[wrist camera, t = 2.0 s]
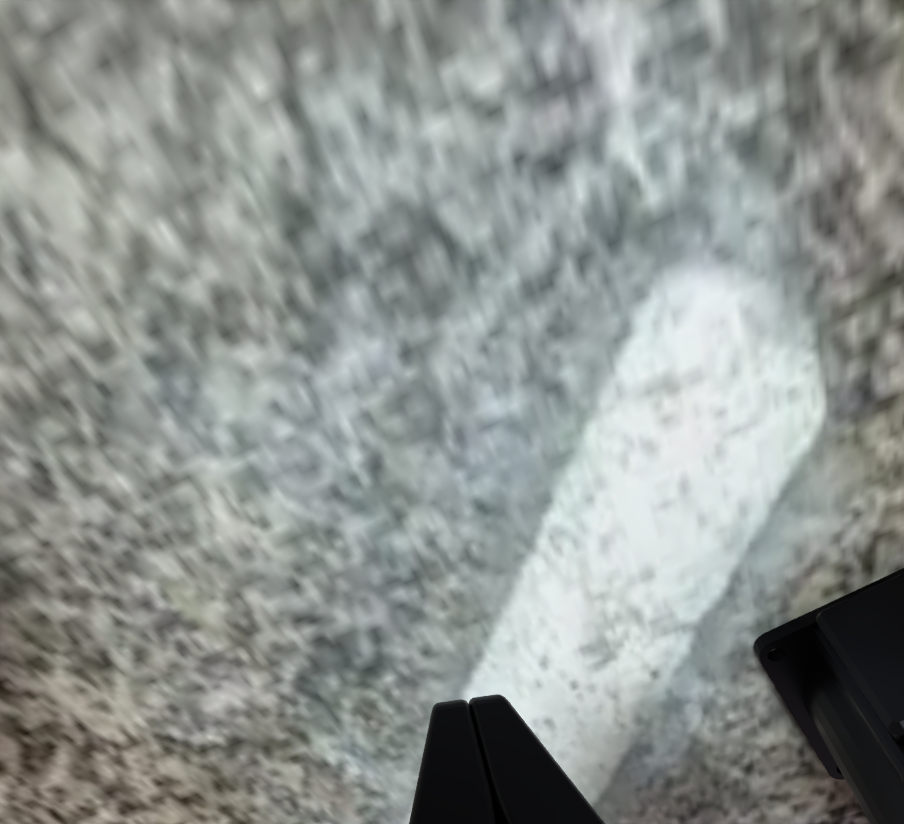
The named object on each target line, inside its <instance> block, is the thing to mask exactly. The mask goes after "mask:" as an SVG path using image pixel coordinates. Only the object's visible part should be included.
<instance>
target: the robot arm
mask: <svg viewBox="0 0 904 824" xmlns="http://www.w3.org/2000/svg"><path fill="white" fill-rule="evenodd" d="M778 647H779V648H778ZM774 648H777V649H776V650H774V651H771V650H772V649H774ZM754 650H755V653H756V655H757V656H758V658H759V660H760V662H761V664H762V665H763V667H764V669H765V670H766V672H767V673H768V675H769V677H770V678H771V680H772V682H773V683H774V685H775V687H776V688H777V690H778V691H779V693H780V695H781V696H782V698H783V700H784V701H785V703H786V704H787V706H788V708H789V709H790V711H791V713H792V714H793V716H794V718H795V719H796V721H797V722H798V724H799V726H800V727H801V729H802V731H803V732H804V734H805V735H806V737H807V739H808V740H809V742H810V744H811V745H812V747H813V748H814V750H815V752H816V753H817V755H818V757H819V758H820V760H821V762H822V763H823V765H824V766H825V768H826V770H827V771H828V773H829V775H830V776H832V777H833V778H835V779H845V780H846V782H847V784H848V785H849V787H850V789H851V791H852V792H853V794H854V796H855V798H856V800H857V801H858V803H859V805H860V807H861V808H862V810H863V812H864V814H865V816H866V817H867V819H868V821H869V823H870V824H904V568H903V569H901V570H899V571H897V572H895V573H893V574H891V575H888V576H886V577H884V578H882V579H880V580H878V581H876V582H873V583H871V584H869V585H867V586H865V587H863V588H861V589H858V590H856V591H854V592H852V593H850V594H848V595H846V596H843V597H841V598H839V599H837V600H835V601H833V602H831V603H828V604H826V605H824V606H822V607H820V608H818V609H816V610H813V611H811V612H809V613H807V614H805V615H803V616H801V617H798V618H796V619H794V620H792V621H790V622H788V623H786V624H783V625H781V626H779V627H777V628H775V629H773V630H771V631H768V632H766V633H764V634H763V635H761V636H760V637H759V638H758V639H757V640H756V641H755V644H754ZM409 824H605V823H604V822H603V821H602V819H601V818H600V817H599V815H598V814H597V813H596V812H595V810H594V809H593V808H592V807H591V805H590V804H589V803H588V801H587V800H586V799H585V798H584V796H583V795H582V794H581V793H580V791H579V790H578V789H577V788H576V786H575V785H574V784H573V782H572V781H571V780H570V779H569V777H568V776H567V775H566V774H565V772H564V771H563V770H562V768H561V767H560V766H559V765H558V763H557V762H556V761H555V760H554V758H553V757H552V756H551V755H550V753H549V752H548V751H547V749H546V748H545V747H544V746H543V744H542V743H541V742H540V741H539V739H538V738H537V737H536V735H535V734H534V733H533V732H532V730H531V729H530V728H529V727H528V725H527V724H526V723H525V722H524V720H523V719H522V718H521V716H520V715H519V714H518V713H517V711H516V710H515V709H514V708H513V706H512V705H511V704H510V702H509V701H508V700H507V699H506V698H505V697H503V696H502V695H490V696H483V697H476V698H472V699H471V700H470V701H469V704H468V703H467V701H465V700H454V701H447V702H440V703H436V704H435V705H434V707H433V709H432V713H431V718H430V723H429V728H428V733H427V738H426V743H425V748H424V753H423V758H422V762H421V767H420V772H419V777H418V782H417V787H416V792H415V797H414V802H413V807H412V812H411V817H410V822H409Z"/></svg>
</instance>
